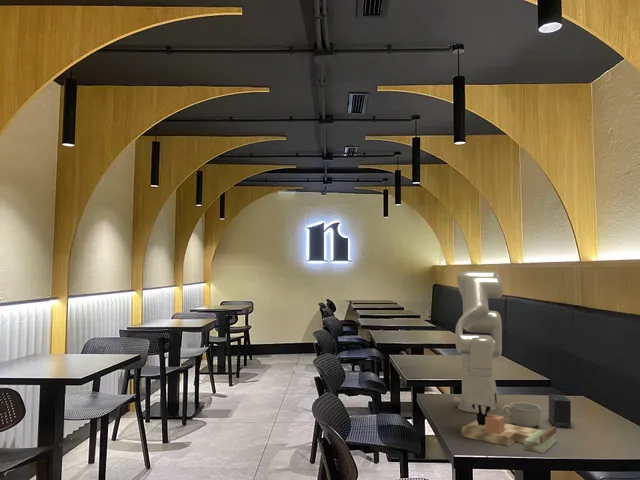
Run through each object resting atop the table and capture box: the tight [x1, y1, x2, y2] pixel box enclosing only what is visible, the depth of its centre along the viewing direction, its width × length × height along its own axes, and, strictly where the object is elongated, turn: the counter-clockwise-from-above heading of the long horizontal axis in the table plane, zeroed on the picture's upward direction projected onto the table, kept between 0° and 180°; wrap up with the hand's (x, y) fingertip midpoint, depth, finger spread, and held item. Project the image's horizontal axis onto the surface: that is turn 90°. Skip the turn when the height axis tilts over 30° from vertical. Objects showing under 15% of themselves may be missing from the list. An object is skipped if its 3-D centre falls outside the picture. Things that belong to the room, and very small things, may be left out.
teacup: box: [501, 401, 541, 429], centre depth 208 cm, size 14×11×8 cm
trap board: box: [461, 419, 558, 454], centre depth 191 cm, size 28×16×5 cm, turn 52°
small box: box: [548, 393, 572, 429], centre depth 211 cm, size 11×6×10 cm, turn 168°
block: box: [485, 414, 506, 434], centre depth 189 cm, size 5×5×5 cm
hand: (481, 424), depth 192 cm, fingers closed
